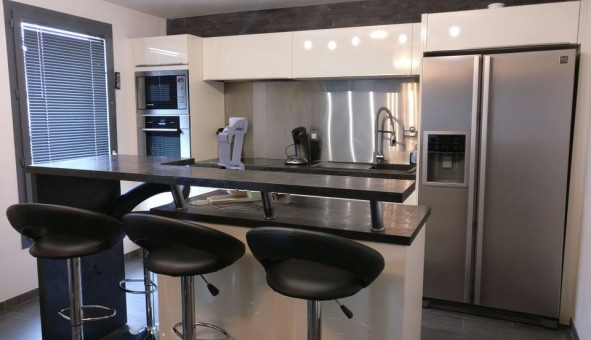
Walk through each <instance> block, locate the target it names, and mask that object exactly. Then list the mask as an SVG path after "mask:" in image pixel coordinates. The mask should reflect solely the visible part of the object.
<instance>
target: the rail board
mask: <svg viewBox="0 0 591 340" xmlns="http://www.w3.org/2000/svg"><path fill="white" fill-rule="evenodd" d="M206 201H207V202H208V203H209V204H210V205H220V204H230V203H231V204H232V203H234V204H235V203H243V202H254V201H262V200H261V197H254V198H251V197H249V196H248V194H247V197H239V198H234V195H231V194H221V195H212V196H211V195H210V196H209V197H206Z"/></svg>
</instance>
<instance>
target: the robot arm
mask: <svg viewBox="0 0 591 340" xmlns="http://www.w3.org/2000/svg"><path fill="white" fill-rule="evenodd" d="M248 121H249V120H248V118H247V117H246V116H245V117H232V116H230V117H229V119H228V125H226V127H225V128H223V130H222V132H219V133H218V134H217V139H216V140H217V144H218V145H217V146H218V151H219V153H218V154H219V155H218V156H219V158H218V159H219V162H218V163H217V166H220V167H219V168H218V169H219V170H220V169H239V170H245V165H244V163H243V162H242V161H241V160H242V159H241V158H242V151H243V142H244V135H245V134H247V131H248V126H249V123H248ZM233 136H234V140H233ZM232 140H233V141H234V143H233V149H232V158H231V143H232ZM225 191H226V193H228V195H232V194H231V190H228V189H227V190H225Z"/></svg>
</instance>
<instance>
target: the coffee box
mask: <svg viewBox="0 0 591 340" xmlns="http://www.w3.org/2000/svg"><path fill="white" fill-rule="evenodd" d="M273 172H280V173H291V174H292V172H291V171H283V170H281V171H280V170H275V171H273ZM271 194H272V195H271V197H273V201H274V203H273V204H286V205H287V204H290V203H291V200H292V199H291V197H292V194H291V195H290V194H278V193H272V192H271Z"/></svg>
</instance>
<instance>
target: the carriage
mask: <svg viewBox="0 0 591 340" xmlns="http://www.w3.org/2000/svg"><path fill="white" fill-rule="evenodd" d="M231 194H232V195H234V198H239V197H247V190H246V191H239V190H231ZM231 194H230V195H231Z"/></svg>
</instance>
